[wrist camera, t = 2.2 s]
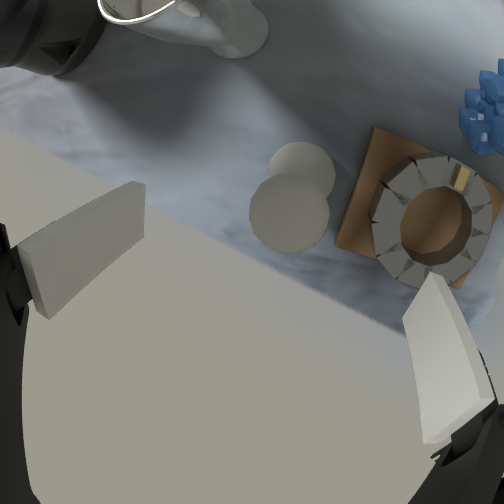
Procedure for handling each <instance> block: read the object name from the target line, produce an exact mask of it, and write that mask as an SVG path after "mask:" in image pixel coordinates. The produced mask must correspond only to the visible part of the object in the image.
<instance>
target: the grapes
mask: <svg viewBox="0 0 504 504" xmlns="http://www.w3.org/2000/svg"><path fill="white" fill-rule="evenodd" d="M498 74H499V75H498ZM498 74H496V73H494V72H491V71H480V79H479V82H480V87H481V90H482V91H481V90H477V89H466V91H465V104H466V108H461V109H460V113H459V126H460V129H461V131H462V133H463V135H465V136H466V137H467V140H468V144H469V146H470V148H471V150H472V151H473V152H475V153H476V154H477V155H482V156H488V155H492V154H494V152H495V150H496V151H497V152H499V153H500V154H501V155H503V156H504V59H499V60H498Z"/></svg>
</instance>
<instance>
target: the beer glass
mask: <svg viewBox="0 0 504 504" xmlns="http://www.w3.org/2000/svg"><path fill="white" fill-rule="evenodd" d="M97 5H98V9H99V11H100V13H101V14H102V16H103V17H104V18H105V19H107V20H108V21H110V22H112V23H115V24H119V25H123V26H125V27H128V28H130V29H132V30H135V31H137V32H140V33H143V34H145V35H148V36H151V37H154V38H157V39H161V40H165V41H169V42H173V43H180V44H187V45H203V46H208V47H209V48H210V49H211V50H212V51H213V52H214V53H215V54H217V55H218V56H221V57H223V58H228V59H239V58H244V57H247V56H249V55H251V54H253V53H255V52H256V51H257V50H259V49H260V48H261V47H262V46H263V44H264V43H265V41H266V39H267V37H268V32H269V26H268V22H267V19H266V17H265V16H264V14H263V13H262V12H261V11H260V10H258V9H257V8H255V7H253V6H252V4H251V0H97Z"/></svg>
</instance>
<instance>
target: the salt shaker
mask: <svg viewBox="0 0 504 504" xmlns="http://www.w3.org/2000/svg"><path fill="white" fill-rule="evenodd" d="M267 177H268V180H266V181H264V182H263V183H262V184H261V185H260V186H259V188H258V189H257V191H256V192H255V194H254V195H253V197H252V198H251V203H250V214H249V220H250V223H251V226H252V229H253V231H254V234H255V235H256V236H257V237H258V238H259V239H260V240H261V241H262V242H263V243H264V244H265V245H266V246H267V247H270V248H272V249H274V250H276V251H279V252H281V253H299V252H302V251H304V250H306V249H309V248H311V247H314V246H315V244H316V243H317V242H318V241H319V240H320V238H321V237H322V236H323V235H324V233H325V231H326V228H327V224H328V220H329V216H330V210H329V206H328V203H327V199H326V198H327V197H328V196H329V194H330V193H331V191H332V190H333V187H334V183H335V178H336V172H335V168H334V165H333V161H332V159H331V158H330V157H329V156H328V154H327V153H326V152H325V151H324V150H323V149H322V148H321V147H319V146H317V145H314V144H312V143H309V142H290V143H288V144H286V145H285V146H283V147H281V148H279V149H278V150H277V151H276V153H275V154H274V155H273V157H272V158H271V160H270V161H269V167H268V176H267Z"/></svg>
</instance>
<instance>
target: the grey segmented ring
mask: <svg viewBox="0 0 504 504" xmlns="http://www.w3.org/2000/svg"><path fill="white" fill-rule="evenodd" d="M381 178H382V179H383V181H384V182H382V181H378V184H377V187H376V190H375V193H374V195H373V198H372V201H371V203H370V206H369V209H368V212H369V213H368V219H369V226H370V233H371V240H372V245H373V248H374V251H375V255H376V257H377V259H378V260H379V261H380V262H381V264H382V265H383V266H384V267H385V269H386V270H387V271H388V272H389V274H390V275H391V276H392V277H393V279H395V278H396V281H398V282H401V283H404V284H407V285H411V286H414V287H417V288H421V287H422V285H423V283H424V281H425V280H426V278H427V276H428V274H429V272H433V273H436V274H438V275H441V276H443V278H444V279H445V281H446V283H447V284H450V278H451V280H452V282H454V281H455V280H456V279H458V278H459V277H460V276H462V275H463V274H464V273H465V272H467V271H468V270H469V269H470V268H472V267H473V266H474V265H475V264H474V262H473V261H475V262H477V261H478V259H479V257H480V256H481V254H482V252H483V250H484V248H485V246H486V244H487V242H488V240H489V238H490V236H489V235H488V234H489V233H491V226H492V203H491V202H490V201H491V198H490V196H489V194H488V192H487V190H486V188H485V185H484V184H483V182H482V180H481V178H480V176H479V174H478V173H476V171H475V170H473V169H472V168H470V167H468V166H467V165H465V164H463V163H461V162H460V161H458V160H456V159H454V158H452V157H450V156H448V155H446V154H444V153H441V152H437V151H435V152H427V153H420V154H413V155H408V158H406V157H404V158H403V159H401V160H400V161H399V162H398V163H397V164H396V165H395V166H393V167H392V168H391V169H390V170H389V171H388V172H386V173H385V174H384V175H383V176H382V177H381ZM441 186H447V187H449V188H451V189H453V190H454V191H455V193H456V195H457V196H458V198H459V200H460V202H461V224H460V226H459V228H458V230H457V232H456V234H455V237H454V239H453V240H451V241H450V242H449V243H448V244H447V245H445V246H444V247H443V248H442V249H440V250H439V251H434V252H429V253H424V254H421V253H419V252H416V251H413V250H411V249H408V248H406V247H405V246H404V244H403V243H402V242H401V234H400V222H401V220H402V218H403V215H404V213H405V211H406V208H407V206H408V203H410V202H411V201H412V200H413V199H414V198H415V197H417V196H418V195H419V194H420V193H421V192H423V191H424V190H425V189H428V188H435V187H441Z"/></svg>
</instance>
